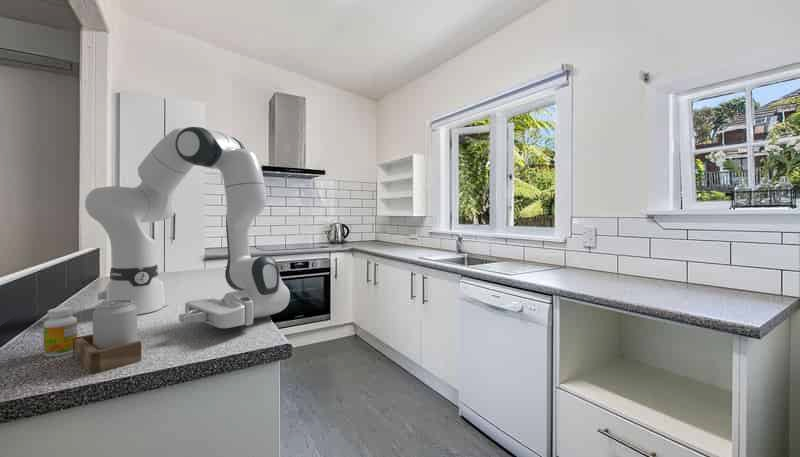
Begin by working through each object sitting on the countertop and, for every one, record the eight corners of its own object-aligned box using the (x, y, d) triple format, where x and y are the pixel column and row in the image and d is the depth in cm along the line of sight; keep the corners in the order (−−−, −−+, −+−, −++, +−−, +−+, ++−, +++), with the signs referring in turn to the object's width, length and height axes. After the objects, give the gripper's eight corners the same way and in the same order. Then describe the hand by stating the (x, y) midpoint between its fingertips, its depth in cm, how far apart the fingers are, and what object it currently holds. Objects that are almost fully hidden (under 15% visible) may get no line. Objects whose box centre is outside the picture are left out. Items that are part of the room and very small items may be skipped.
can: (114, 365, 71) (113, 307, 71) (83, 362, 72) (82, 305, 72) (146, 351, 79) (145, 298, 78) (117, 348, 80) (116, 297, 79)
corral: (73, 356, 75) (72, 338, 75) (118, 345, 82) (118, 328, 82) (92, 374, 67) (91, 353, 67) (141, 360, 74) (141, 341, 74)
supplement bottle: (36, 356, 75) (35, 311, 75) (64, 347, 81) (63, 305, 80) (58, 358, 75) (57, 313, 74) (84, 348, 80) (83, 306, 79)
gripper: (216, 291, 103) (163, 300, 92) (255, 301, 91) (200, 313, 80) (217, 312, 104) (164, 323, 92) (256, 325, 91) (200, 340, 80)
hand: (181, 319), depth 86 cm, fingers closed
